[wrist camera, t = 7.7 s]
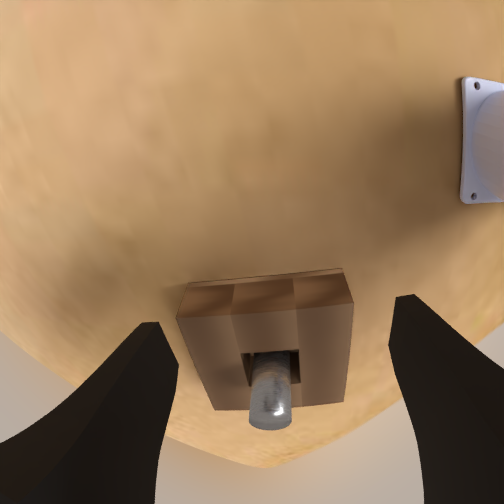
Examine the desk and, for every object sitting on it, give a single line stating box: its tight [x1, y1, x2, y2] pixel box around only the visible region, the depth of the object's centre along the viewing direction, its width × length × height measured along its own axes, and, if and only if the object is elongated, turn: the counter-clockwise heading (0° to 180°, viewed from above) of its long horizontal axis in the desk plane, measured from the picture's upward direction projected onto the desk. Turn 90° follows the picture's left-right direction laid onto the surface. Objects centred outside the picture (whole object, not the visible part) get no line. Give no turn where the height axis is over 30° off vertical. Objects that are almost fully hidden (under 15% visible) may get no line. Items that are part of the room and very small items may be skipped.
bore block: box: [176, 268, 354, 410], centre depth 21 cm, size 10×10×4 cm
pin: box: [249, 350, 292, 430], centre depth 19 cm, size 2×2×7 cm
